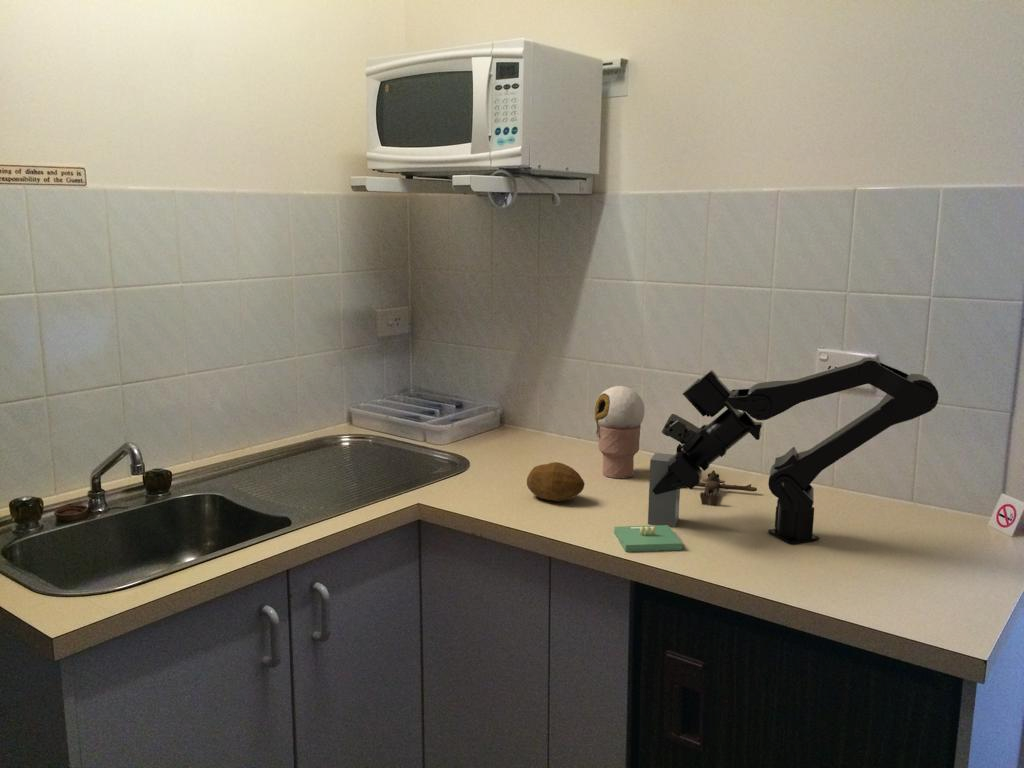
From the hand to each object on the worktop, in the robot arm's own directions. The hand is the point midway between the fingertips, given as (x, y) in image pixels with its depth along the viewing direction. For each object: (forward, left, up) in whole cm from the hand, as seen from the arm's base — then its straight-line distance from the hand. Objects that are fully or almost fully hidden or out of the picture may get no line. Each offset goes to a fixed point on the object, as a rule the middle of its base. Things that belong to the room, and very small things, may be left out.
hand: (657, 486), depth 163 cm
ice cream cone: (+29, -7, -7) cm, 31 cm away
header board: (-9, +7, -7) cm, 13 cm away
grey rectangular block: (-1, -1, -7) cm, 7 cm away
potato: (+18, +13, -7) cm, 23 cm away
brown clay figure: (+10, -19, -7) cm, 23 cm away
